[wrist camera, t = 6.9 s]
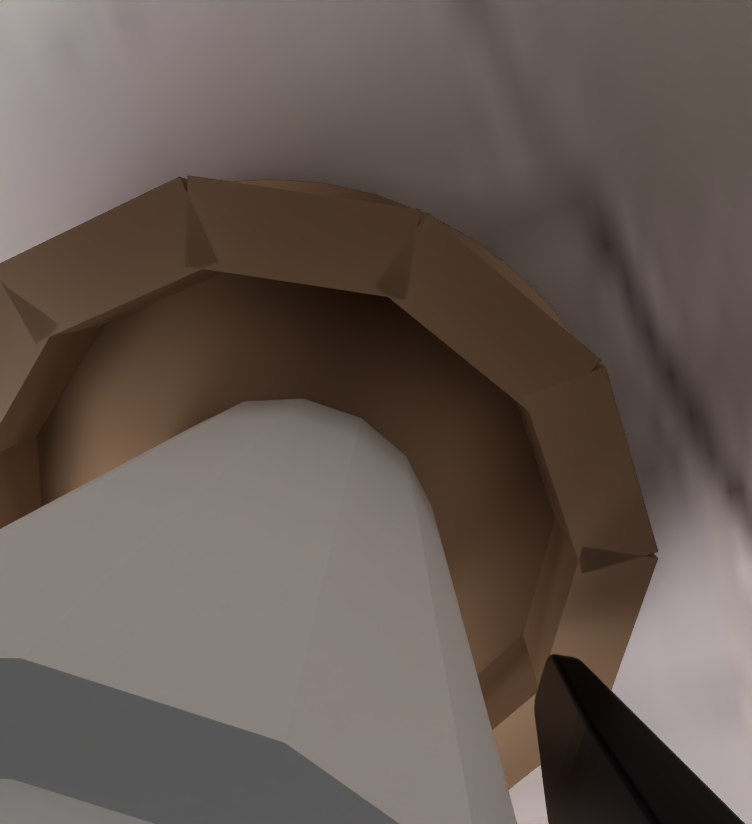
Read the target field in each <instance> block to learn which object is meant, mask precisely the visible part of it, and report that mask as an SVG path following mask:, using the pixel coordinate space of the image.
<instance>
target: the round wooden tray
mask: <svg viewBox="0 0 752 824" xmlns="http://www.w3.org/2000/svg"><path fill="white" fill-rule="evenodd" d="M600 361H601V360H600V359H599V358H598V357H597V356H596V355H594V354H593V353H592V352H591V351H590V350H588V349H587V348H586V347H585V346H584V345H583V344H581V343H580V342H579V341H578V340H577V339H576V338H574V337H573V335H572V334H571V333H570V331H569V330H568V329H567V327H566V326H565V325H564V324H563V322H562V321H561V320H560V318H559V317H558V316H557V314H556V313H555V312H554V310H553V309H552V308H551V306H550V305H549V304H548V303H547V302H546V301H545V300H544V299H543V298H542V297H541V296H540V295H539V294H538V293H537V292H536V291H535V290H534V289H533V288H532V287H531V286H530V285H529V284H528V283H527V282H526V281H525V280H524V279H523V278H522V277H521V276H520V275H519V274H518V273H517V272H516V271H515V270H514V269H512V268H511V267H510V266H508V265H507V264H506V263H504V262H503V261H501V260H500V259H499V258H497V257H496V256H495V255H493V254H492V253H491V252H489V251H488V250H487V249H485V248H484V247H483V246H481V245H480V244H479V243H477V242H476V241H474V240H473V239H472V238H470V237H468V236H466V235H465V234H463V233H461V232H459V231H457V230H455V229H453V228H452V227H450V226H448V225H446V224H444V223H442V222H441V221H439V220H437V219H435V218H433V217H432V216H431V215H430V214H429V213H428V214H426V213H423V212H421V211H420V210H419V209H413V208H410V207H407V206H405V205H402V204H399V203H397V202H394V201H391V200H389V199H386V198H383V197H381V196H378V195H375V194H371V193H366V192H362V191H357V190H353V189H348V188H343V187H339V186H334V185H330V184H325V183H316V182H303V181H289V180H276V179H266V180H252V181H237V182H229V181H222V180H215V179H208V178H202V177H195V176H188V179H185V178H182V177H178V178H176V179H174V180H172V181H169V182H167V183H165V184H163V185H161V186H159V187H157V188H155V189H153V190H151V191H149V192H147V193H145V194H143V195H141V196H138V197H136V198H134V199H132V200H130V201H128V202H126V203H124V204H122V205H120V206H118V207H116V208H114V209H112V210H109V211H107V212H105V213H103V214H101V215H99V216H97V217H95V218H93V219H91V220H89V221H87V222H85V223H83V224H81V225H78V226H76V227H74V228H72V229H70V230H68V231H66V232H64V233H62V234H60V235H58V236H56V237H54V238H52V239H49V240H47V241H45V242H43V243H41V244H39V245H37V246H35V247H33V248H31V249H29V250H27V251H25V252H23V253H21V254H18V255H16V256H14V257H12V258H10V259H8V260H6V261H4V262H2V263H0V529H1V528H3V527H5V526H7V525H9V524H11V523H12V522H14V521H16V520H18V519H20V518H22V517H24V516H26V515H27V514H29V513H31V512H33V511H35V510H37V509H39V508H41V507H43V506H44V505H46V504H48V503H50V502H52V501H54V500H56V499H58V498H59V497H61V496H63V495H65V494H67V493H69V492H71V491H73V490H75V489H76V488H78V487H80V486H82V485H84V484H86V483H88V482H90V481H91V480H93V479H95V478H97V477H99V476H101V475H103V474H105V473H107V472H108V471H110V470H112V469H114V468H116V467H118V466H120V465H122V464H123V463H125V462H127V461H129V460H131V459H133V458H135V457H137V456H139V455H140V454H142V453H144V452H146V451H148V450H150V449H152V448H154V447H156V446H157V445H159V444H161V443H163V442H165V441H167V440H169V439H171V438H172V437H174V436H176V435H178V434H180V433H182V432H184V431H186V430H188V429H189V428H191V427H193V426H195V425H197V424H199V423H201V422H203V421H205V420H207V419H209V418H211V417H214V416H216V415H218V414H220V413H222V412H224V411H226V410H228V409H230V408H232V407H234V406H236V405H238V404H240V403H242V402H244V401H263V400H283V399H307V400H310V401H313V402H315V403H318V404H321V405H324V406H327V407H330V408H333V409H336V410H339V411H342V412H345V413H348V414H351V415H354V416H357V417H359V418H362V419H363V420H364V421H365V422H367V423H368V424H369V425H370V426H371V427H372V428H374V429H375V430H376V431H377V432H378V433H379V434H381V435H382V436H383V437H384V438H385V439H387V440H388V441H389V442H390V443H391V444H392V445H394V446H395V447H396V448H397V449H398V450H400V451H401V452H402V453H403V454H404V455H405V456H407V458H408V460H409V462H410V464H411V466H412V468H413V470H414V472H415V474H416V476H417V478H418V480H419V482H420V484H421V486H422V488H423V490H424V492H425V494H426V495H427V497H428V499H429V501H430V503H431V505H432V509H433V512H434V516H435V520H436V524H437V527H438V531H439V535H440V538H441V542H442V546H443V550H444V553H445V557H446V561H447V564H448V568H449V572H450V576H451V579H452V583H453V587H454V591H455V594H456V598H457V602H458V605H459V609H460V613H461V617H462V620H463V624H464V628H465V631H466V635H467V639H468V643H469V646H470V650H471V654H472V657H473V661H474V665H475V669H476V672H477V676H478V680H479V683H480V687H481V691H482V695H483V698H484V702H485V706H486V709H487V713H488V717H489V721H490V724H491V728H492V732H493V736H494V739H495V743H496V747H497V750H498V754H499V758H500V762H501V765H502V769H503V773H504V776H505V780H506V784H507V788H508V790H509V789H510V788H511V787H513V786H514V785H515V784H516V783H518V782H519V781H520V780H522V779H523V778H524V777H525V776H527V775H528V774H529V773H530V772H532V771H533V770H534V769H535V768H537V767H538V766H539V765H541V762H540V754H539V746H538V738H537V731H536V723H535V714H534V702H535V696H536V692H537V689H538V686H539V682H540V679H541V676H542V672H543V669H544V666H545V662H546V660H547V658H548V657H549V656H550V655H552V654H558V655H564V656H571V657H575V658H578V659H580V660H581V661H582V662H583V663H584V664H585V665H586V666H587V667H588V668H589V669H590V670H591V671H592V672H593V673H594V674H595V675H596V676H597V677H598V678H599V679H600V680H601V681H602V682H603V683H604V684H605V685H606V686H607V687H608V688H609V689H610V690H611V689H612V687H613V684H614V681H615V678H616V675H617V673H618V670H619V667H620V664H621V661H622V658H623V656H624V653H625V650H626V647H627V644H628V642H629V639H630V636H631V633H632V630H633V627H634V625H635V622H636V619H637V616H638V613H639V611H640V608H641V605H642V602H643V599H644V596H645V594H646V591H647V588H648V585H649V582H650V580H651V577H652V574H653V571H654V568H655V565H656V563H657V560H658V558H657V557H656V555H655V554H654V553H657V552H658V549H657V546H656V542H655V539H654V535H653V532H652V528H651V525H650V521H649V518H648V514H647V511H646V507H645V504H644V500H643V497H642V493H641V490H640V486H639V483H638V479H637V476H636V472H635V469H634V465H633V462H632V458H631V455H630V451H629V448H628V444H627V441H626V437H625V434H624V430H623V427H622V423H621V420H620V416H619V413H618V409H617V406H616V402H615V399H614V395H613V392H612V388H611V385H610V381H609V378H608V374H607V371H606V367H605V366H603V365H601V364H599V362H600Z"/></svg>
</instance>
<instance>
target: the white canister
mask: <svg viewBox="0 0 752 824" xmlns="http://www.w3.org/2000/svg"><path fill="white" fill-rule="evenodd" d="M0 824H517V821H516V817H515V814H514V810H513V806H512V802H511V799H510V795H509V791H508V788H507V784H506V780H505V776H504V773H503V769H502V765H501V762H500V758H499V754H498V750H497V747H496V743H495V739H494V736H493V732H492V728H491V724H490V721H489V717H488V713H487V709H486V706H485V702H484V698H483V695H482V691H481V687H480V683H479V680H478V676H477V672H476V669H475V665H474V661H473V657H472V654H471V650H470V646H469V643H468V639H467V635H466V631H465V628H464V624H463V620H462V617H461V613H460V609H459V605H458V602H457V598H456V594H455V591H454V587H453V583H452V579H451V576H450V572H449V568H448V564H447V561H446V557H445V553H444V550H443V546H442V542H441V538H440V535H439V531H438V527H437V524H436V520H435V516H434V512H433V509H432V505H431V503H430V501H429V499H428V497H427V495H426V494H425V492H424V490H423V488H422V486H421V484H420V482H419V480H418V478H417V476H416V474H415V472H414V470H413V468H412V466H411V464H410V462H409V460H408V458H407V456H405V455H404V454H403V453H402V452H401V451H400V450H398V449H397V448H396V447H395V446H394V445H392V444H391V443H390V442H389V441H388V440H387V439H385V438H384V437H383V436H382V435H381V434H379V433H378V432H377V431H376V430H375V429H374V428H372V427H371V426H370V425H369V424H368V423H367V422H365V421H364V420H363V419H362V418H359V417H357V416H354V415H351V414H348V413H345V412H342V411H339V410H336V409H333V408H330V407H327V406H324V405H321V404H318V403H315V402H313V401H310V400H307V399H283V400H263V401H244V402H242V403H240V404H238V405H236V406H234V407H232V408H230V409H228V410H226V411H224V412H222V413H220V414H218V415H216V416H214V417H211V418H209V419H207V420H205V421H203V422H201V423H199V424H197V425H195V426H193V427H191V428H189V429H188V430H186V431H184V432H182V433H180V434H178V435H176V436H174V437H172V438H171V439H169V440H167V441H165V442H163V443H161V444H159V445H157V446H156V447H154V448H152V449H150V450H148V451H146V452H144V453H142V454H140V455H139V456H137V457H135V458H133V459H131V460H129V461H127V462H125V463H123V464H122V465H120V466H118V467H116V468H114V469H112V470H110V471H108V472H107V473H105V474H103V475H101V476H99V477H97V478H95V479H93V480H91V481H90V482H88V483H86V484H84V485H82V486H80V487H78V488H76V489H75V490H73V491H71V492H69V493H67V494H65V495H63V496H61V497H59V498H58V499H56V500H54V501H52V502H50V503H48V504H46V505H44V506H43V507H41V508H39V509H37V510H35V511H33V512H31V513H29V514H27V515H26V516H24V517H22V518H20V519H18V520H16V521H14V522H12V523H11V524H9V525H7V526H5V527H3V528H1V529H0Z"/></svg>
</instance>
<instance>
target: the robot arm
mask: <svg viewBox="0 0 752 824" xmlns="http://www.w3.org/2000/svg"><path fill="white" fill-rule="evenodd" d="M534 714H535V723H536V731H537V738H538V746H539V754H540V762H541V770H542V778H543V786H544V793H545V801H546V809H547V816H548V823H549V824H745V823H744V822H743V821H742V820H741V819H740V818H739V817H738V816H737V815H736V814H735V813H734V812H733V811H732V810H731V809H730V808H729V807H728V806H727V805H726V804H725V803H724V802H723V801H722V800H721V799H720V798H719V797H718V796H717V795H716V794H715V793H714V792H713V791H712V790H711V789H710V788H709V787H708V786H707V785H706V784H705V783H704V782H703V781H702V780H701V779H700V778H699V777H698V776H697V775H696V774H695V773H694V772H693V771H692V770H691V769H690V768H689V767H688V766H687V765H686V764H685V763H684V762H683V761H682V760H681V759H680V758H679V757H678V756H677V755H676V754H675V753H674V752H673V751H672V750H671V749H669V748H668V747H667V746H666V745H665V744H664V743H663V742H662V741H661V740H660V739H659V738H658V737H657V736H656V735H655V734H654V733H653V732H652V731H651V730H650V729H649V728H648V727H647V726H646V725H645V724H644V723H643V722H642V721H641V720H640V719H639V718H638V717H637V716H636V715H635V714H634V713H633V712H632V711H631V710H630V709H629V708H628V707H627V706H626V705H625V704H624V703H623V702H622V701H621V700H620V699H619V698H618V697H617V696H616V695H615V694H614V693H613V692H612V691H611V690H610V689H609V688H608V687H607V686H606V685H605V684H604V683H603V682H602V681H601V680H600V679H599V678H598V677H597V676H596V675H595V674H594V673H593V672H592V671H591V670H590V669H589V668H588V667H587V666H586V665H585V664H584V663H583V662H582V661H581V660H580V659H578V658H575V657H571V656H564V655H558V654H552V655H550V656H549V657H548V658H547V660H546V662H545V666H544V669H543V672H542V676H541V679H540V682H539V686H538V689H537V692H536V696H535V702H534Z"/></svg>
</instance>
